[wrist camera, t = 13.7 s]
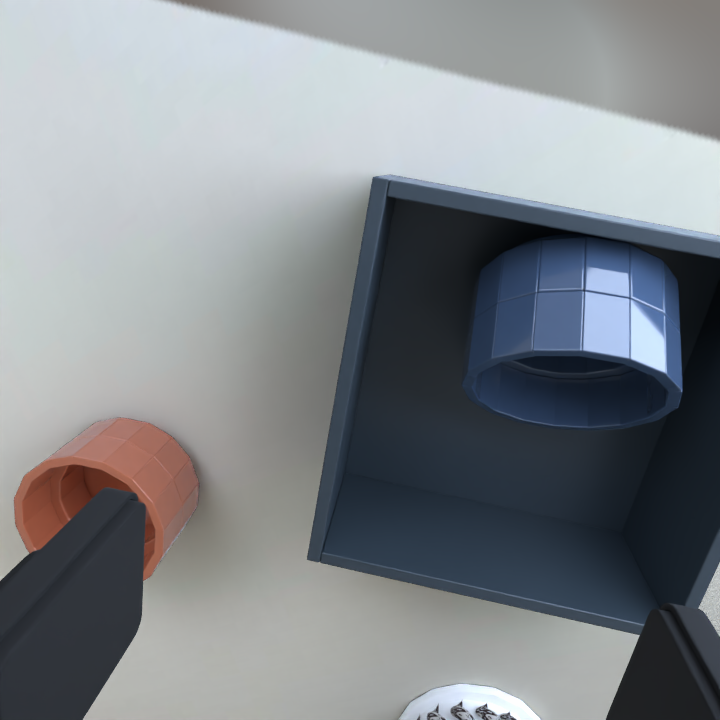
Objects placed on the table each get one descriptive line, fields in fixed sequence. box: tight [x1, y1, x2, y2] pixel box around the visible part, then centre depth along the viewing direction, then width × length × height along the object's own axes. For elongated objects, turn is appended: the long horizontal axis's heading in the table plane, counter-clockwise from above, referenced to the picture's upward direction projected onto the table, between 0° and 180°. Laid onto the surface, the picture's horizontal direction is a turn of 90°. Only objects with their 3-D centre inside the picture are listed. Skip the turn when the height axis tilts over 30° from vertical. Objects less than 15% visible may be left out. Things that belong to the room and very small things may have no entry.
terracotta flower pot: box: [14, 418, 199, 581], centre depth 27 cm, size 7×7×4 cm
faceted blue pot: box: [461, 233, 683, 431], centre depth 20 cm, size 7×7×4 cm
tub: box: [307, 175, 720, 635], centre depth 22 cm, size 14×14×6 cm
